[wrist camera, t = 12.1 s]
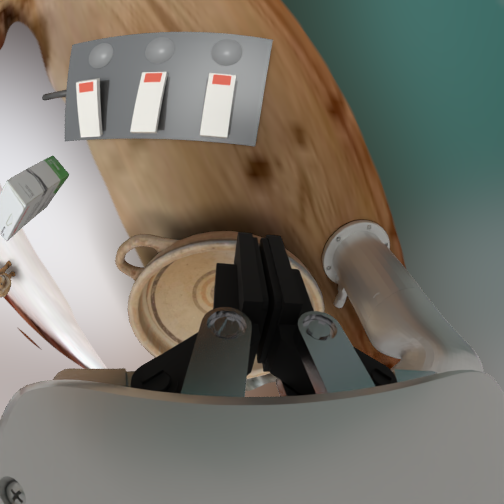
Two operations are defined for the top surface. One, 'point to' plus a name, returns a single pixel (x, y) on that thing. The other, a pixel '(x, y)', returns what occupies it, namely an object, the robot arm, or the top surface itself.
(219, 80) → the far-end rocker
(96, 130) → the block
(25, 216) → the ink box
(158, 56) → the grey switch panel
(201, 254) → the ceramic bowl
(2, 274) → the lion figurine
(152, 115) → the middle rocker
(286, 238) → the top surface
